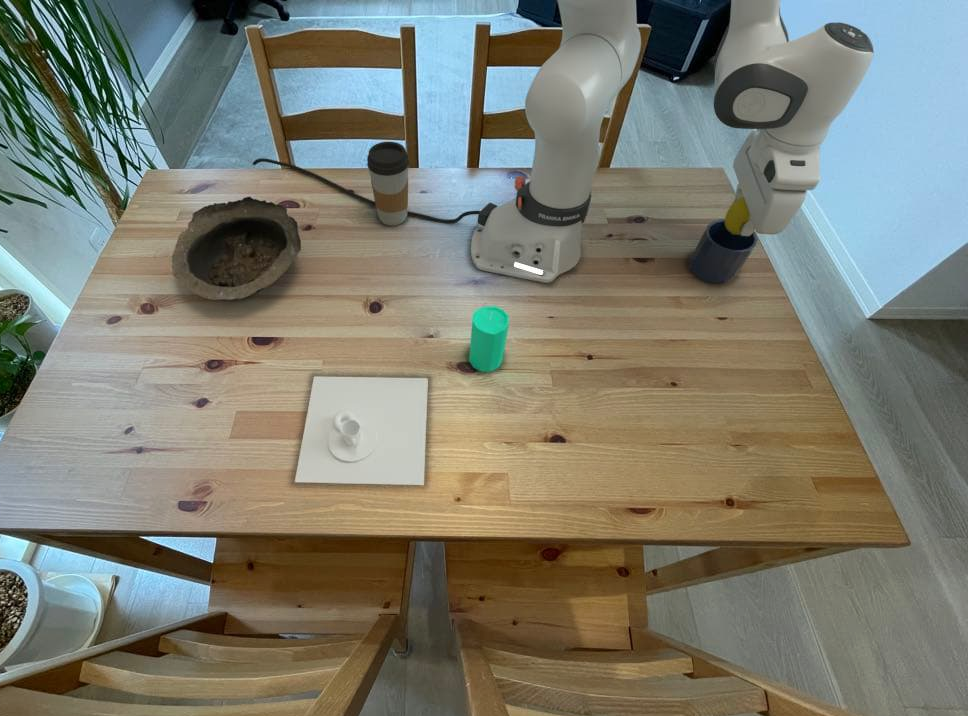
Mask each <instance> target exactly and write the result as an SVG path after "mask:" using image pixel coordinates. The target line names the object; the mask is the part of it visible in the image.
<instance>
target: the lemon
mask: <svg viewBox="0 0 968 716" xmlns="http://www.w3.org/2000/svg"><path fill="white" fill-rule="evenodd" d="M731 204H732V203H731ZM749 217H750V213H749V210H748V207H747V205H746V202H745V199H744V196H743V197H741V198H739V199H738V200H736V201H735V202H734V203H733V204H732V206H731V205H730V207H729V209H728V210H727V211H726V213H725V217H724V220H725V226H726V228H727V230H728V231H729V232H731V234H733V235H735V234H736V235H741V233H740V230H739V228H740V227H741V225H742V223H743V222H748V221H750V220H749Z"/></svg>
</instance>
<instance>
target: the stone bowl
mask: <svg viewBox="0 0 968 716" xmlns="http://www.w3.org/2000/svg"><path fill="white" fill-rule="evenodd" d="M187 226H188V227H187V229H185V230H184V231H183V230H182V231H181V233H180V234H179V236H178V238H177V241H176V244H175V247H174V250H173V252H172V254H171V269H172V275H173V277H174V278H176V279H177V280H179V283H181V284H182V285H183V286H184V287H186V288H187V289H188V290H189V291H190V292H192V293H195V294H196V295H198V296H200V297H202V298H204V299H206V300H207V299H209V300H216V301H217V300H226V301H231V300H241V299H245V298H247V297H249V296H253V295H255V294H257V293H260V292H261V291H262V290H264V289H265V288H269V287H270V286H271V285H273V284H274V283H275V282H276V281H277V280H278V279H279V278H280V277H281V276H282V275H283V274H284V273H285V272H286V271H287V270H288V269H289V267H290V265H291V264H292V263H293V261H294V260H295V259H296V258H297V255H298V254H299V253H300V252H301V251H302V240H301V237H300V233H299V227H298V222H297V221H296V220H295V218H294V217H292V216H290V215H288V208H287V207H286V206H285V205H282V204H275V203H274V202H273V201H270V202H267V201H266V200H265V199H264V200H259V199H256V198H253V197H251V196H246V197H243V198H242V199H237V200H233V201H230V200H229V201H227V203H226V202H219V203H216V202H214V203H213V204H208V205H204V206H202V207H201V208H199V209H198V210H197V211H194V212H193V213H192V218H191V220H190V221H189V222H188V223H187Z"/></svg>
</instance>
